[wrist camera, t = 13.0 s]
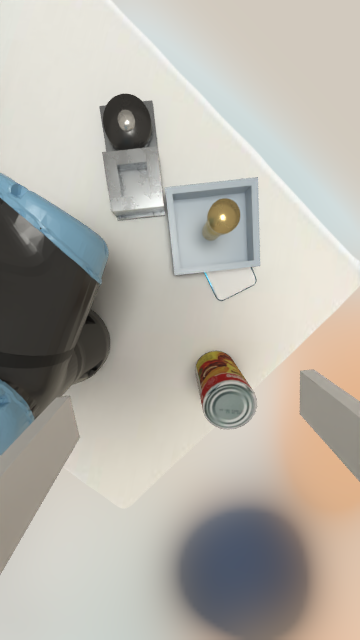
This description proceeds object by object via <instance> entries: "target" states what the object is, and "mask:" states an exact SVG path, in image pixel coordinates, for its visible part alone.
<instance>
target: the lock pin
mask: <svg viewBox="0 0 360 640" xmlns="http://www.w3.org/2000/svg"><path fill="white" fill-rule="evenodd" d="M239 221H240V209H239V207H238V205H237V204H236V203H235V202H234V201H233V200H231V199H228V198H222V199H219V200H217V201H215V202H214V203H213V204H212V206H211V207H210V209H209V211H208V214H207V222H206V223H205V225H204V227H203V229H202V234H203V237H204V238H205V239H206V240H209V241H213V240H215V239H217V238H218V237H219V236H220V235H224V234H227V233H229V232H231V231H232V230H234V229H235V228H236V227H237V225H238V223H239Z"/></svg>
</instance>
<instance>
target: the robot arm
mask: <svg viewBox="0 0 360 640" xmlns="http://www.w3.org/2000/svg"><path fill="white" fill-rule="evenodd" d="M108 255H109V252H108V247H107V245H106V243H105V241H104V240H103V239H102V238H101V237H100V236H99V235H98V234H96V233H95V232H94V231H92V230H91V229H90V228H88V227H87V226H85V225H84V224H83V223H81V222H80V221H78V220H77V219H75V218H74V217H72V216H71V215H69V214H68V213H66V212H65V211H63V210H61V209H60V208H58V207H57V206H55V205H54V204H52V203H50V202H49V201H47V200H46V199H44V198H42V197H41V196H39V195H37V194H36V193H34V192H32V191H29V190H28V189H27V188H25V187H23V186H22V185H20V184H18V183H16V182H15V181H13V180H12V179H11V178H9V177H7V176H5V175H4V174H2V173H0V574H1V573H2V571H3V569H4V567H5V566H6V564H7V562H8V560H9V559H10V557H11V555H12V554H13V552H14V550H15V548H16V547H17V545H18V543H19V542H20V540H21V538H22V536H23V535H24V533H25V531H26V529H27V528H28V526H29V524H30V523H31V521H32V519H33V517H34V516H35V514H36V512H37V510H38V509H39V507H40V505H41V504H42V502H43V500H44V498H45V497H46V495H47V493H48V492H49V490H50V488H51V486H52V485H53V483H54V481H55V479H56V478H57V476H58V474H59V473H60V471H61V469H62V467H63V466H64V464H65V462H66V460H67V459H68V457H69V455H70V454H71V452H72V450H73V448H74V447H75V445H76V443H77V441H78V440H79V438H80V437H79V433H78V428H77V424H76V420H75V416H74V411H73V407H72V403H71V399H70V396H65V397H61V396H62V395H63V394H64V393H65V392H66V391H67V389H68V388H69V387H70V386H71V385H73V384H76V383H79V382H81V381H84V380H86V379H88V378H90V377H91V376H92V375H94V374H95V373H96V372H97V371H98V370H99V369H100V367H101V366H102V365H103V364H104V362H105V361H106V359H107V356H108V354H109V349H110V338H109V333H108V330H107V328H106V326H105V324H104V322H103V321H102V320H101V318H100V317H99V316H98V315H97V314H96V313H95V312H94V311H92V310H91V309H90V308H91V305H92V303H93V300H94V297H95V295H96V292H97V290H98V287H99V285H101V284H102V279H101V278H102V275H103V272H104V269H105V265H106V262H107V259H108ZM300 415H301V416H302V417H303V418H304V419H305V420H306V421H307V423H308V424H309V425H310V426H311V427H312V428H313V429H314V431H315V432H316V433H317V434H318V435H319V436H320V437H321V438H322V440H323V441H324V442H325V443H326V444H327V445H328V446H329V447H330V449H332V451H333V452H334V453H335V454H336V455H337V456H338V458H339V459H340V460H341V461H342V462H343V463H344V464H345V466H347V468H348V469H349V470H350V471H351V472H352V473H353V475H354V476H355V477H356V478H357V479H358V480H359V481H360V401H358V400H357V399H355V398H354V397H353V396H351V395H350V394H348V393H347V392H345V391H344V390H342V389H341V388H339V387H338V386H337V385H335V384H334V383H332V382H331V381H329V380H328V379H327V378H325V377H324V376H322V375H321V374H319V373H318V372H317V371H315V370H304V371H300Z"/></svg>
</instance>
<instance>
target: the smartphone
mask: <svg viewBox="0 0 360 640" xmlns="http://www.w3.org/2000/svg"><path fill="white" fill-rule="evenodd" d="M204 273H205V275H206V277H207V279H208V281H209V284H210V286H211V288H212V290H213V292H214V294H215V296H216V298H217V299H218V300H220V301H223V300H225V299H227V298H229V297H231V296H233V295H235V294H237V293H239V292H241V291H243V290H245V289H247V288H249V287H251V286H253V285H254V284H255V283H256V277H255V275H254V272H253V270H252V267H246V268H237V269H228V270H219V271H210V272H204Z"/></svg>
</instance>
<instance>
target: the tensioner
mask: <svg viewBox="0 0 360 640" xmlns="http://www.w3.org/2000/svg"><path fill="white" fill-rule="evenodd" d="M100 112H101V119H102V125H103V132H104V138H105V145H106V151H107V152H102V154H103V160H104V166H105V172H106V179H107V185H108V191H109V197H110V204H111V210H112V212H113V213H114V214H115V215H116V216H117V220H128V219H137V218H146V217H155V216H164V215H165V209H164V200H163V192H162V183H161V174H160V165H159V156H158V147H157V138H156V129H155V120H154V111H153V103H152V101H144V102H142V101H141V100H140V99H139V98H137V97H136V96H134V95H131V94H120V95H117V96H115V97H114V98H112V99H111V100H110V101H109V102H108V104H107V105H106V106H100Z"/></svg>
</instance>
